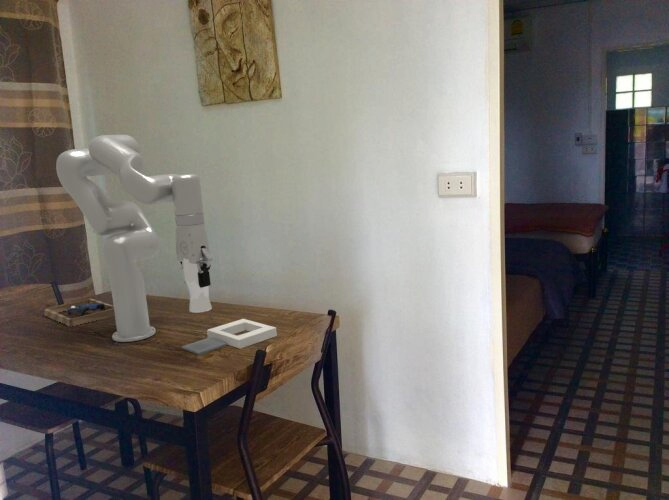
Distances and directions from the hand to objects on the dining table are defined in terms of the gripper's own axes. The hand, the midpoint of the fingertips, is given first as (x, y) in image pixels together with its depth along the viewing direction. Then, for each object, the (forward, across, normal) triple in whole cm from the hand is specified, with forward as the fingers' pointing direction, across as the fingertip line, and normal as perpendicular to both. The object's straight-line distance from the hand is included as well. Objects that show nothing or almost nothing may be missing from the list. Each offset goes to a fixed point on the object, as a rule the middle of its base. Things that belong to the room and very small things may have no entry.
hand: (197, 284), depth 166 cm
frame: (+18, -68, -7) cm, 71 cm away
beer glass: (+7, 0, 0) cm, 7 cm away
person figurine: (+18, -66, -5) cm, 69 cm away
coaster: (+18, 0, 0) cm, 18 cm away
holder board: (+18, +2, +11) cm, 21 cm away
